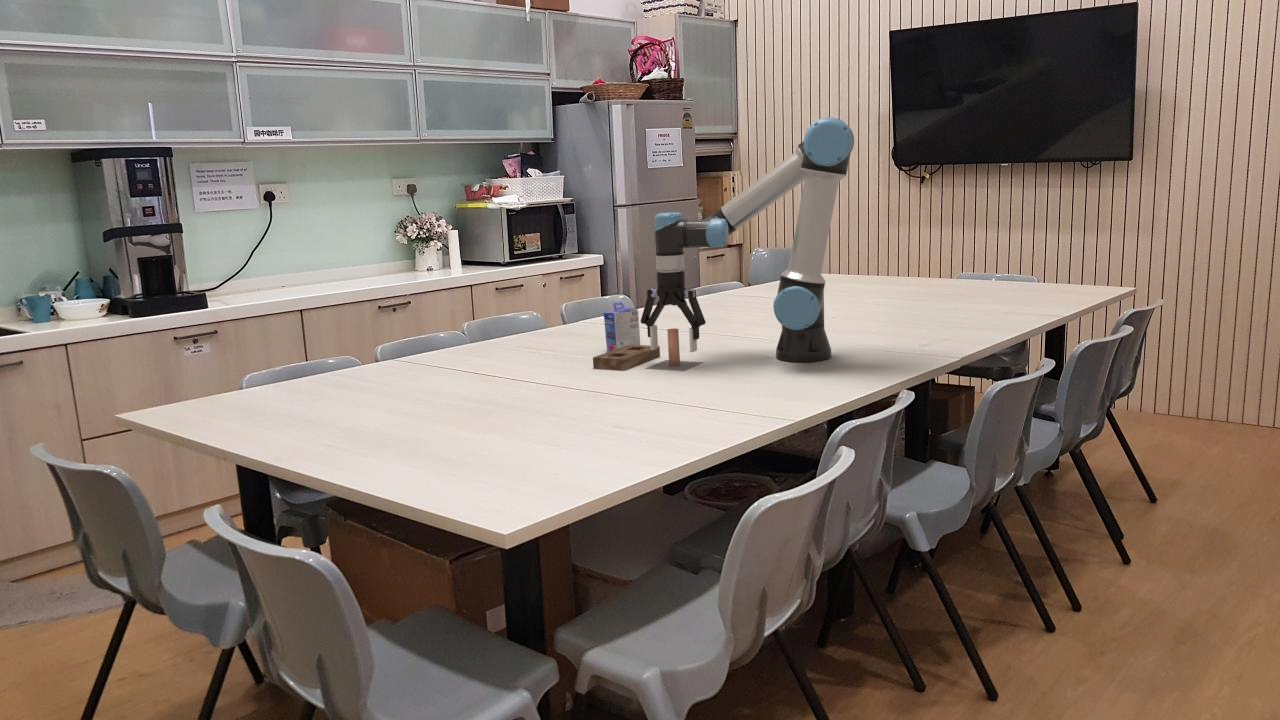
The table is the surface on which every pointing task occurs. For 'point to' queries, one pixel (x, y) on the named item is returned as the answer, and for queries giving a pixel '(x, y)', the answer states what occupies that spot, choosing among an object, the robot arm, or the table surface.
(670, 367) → the mat
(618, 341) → the ink cartridge box
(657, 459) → the table surface
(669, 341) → the peg
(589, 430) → the table surface
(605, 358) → the socket block
